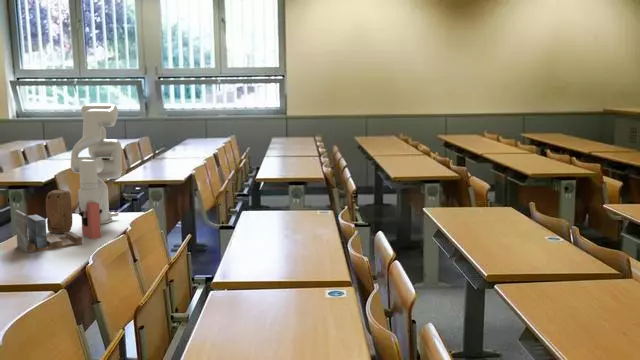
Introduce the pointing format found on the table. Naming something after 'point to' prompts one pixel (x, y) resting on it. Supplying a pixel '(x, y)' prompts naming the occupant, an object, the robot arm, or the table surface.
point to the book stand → (40, 234)
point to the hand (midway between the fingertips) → (90, 224)
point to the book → (92, 221)
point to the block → (59, 211)
